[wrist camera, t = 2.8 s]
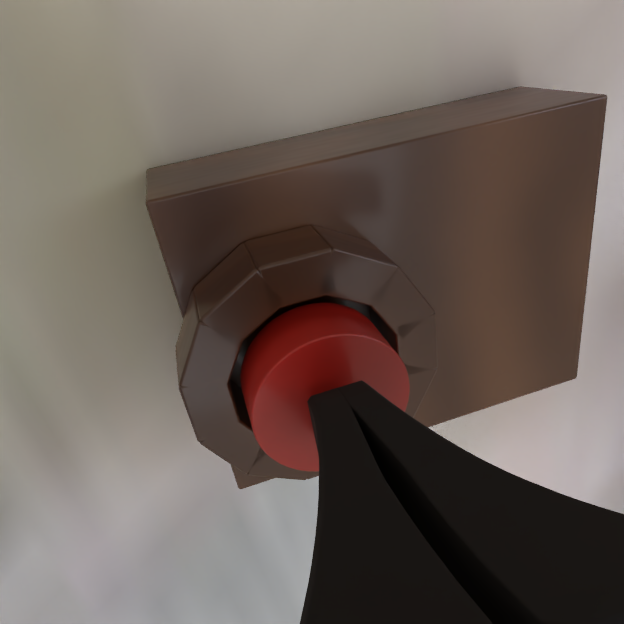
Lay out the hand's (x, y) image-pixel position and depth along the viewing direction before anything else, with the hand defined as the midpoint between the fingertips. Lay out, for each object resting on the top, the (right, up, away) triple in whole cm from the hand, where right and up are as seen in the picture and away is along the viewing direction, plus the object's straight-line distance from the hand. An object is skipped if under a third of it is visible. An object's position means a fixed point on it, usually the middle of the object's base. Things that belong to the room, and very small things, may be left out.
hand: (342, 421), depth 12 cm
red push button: (-1, +1, +2) cm, 2 cm away
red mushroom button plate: (+1, +4, +7) cm, 9 cm away
